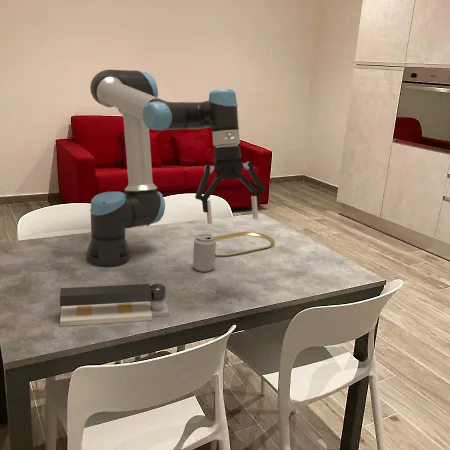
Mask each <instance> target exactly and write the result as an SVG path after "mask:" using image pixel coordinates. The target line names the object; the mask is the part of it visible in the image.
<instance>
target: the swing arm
mask: <svg viewBox="0 0 450 450" xmlns="http://www.w3.org/2000/svg"><path fill="white" fill-rule="evenodd" d="M59 290H60V292H59V307H62V306H78V305H96V304H113V303H131V302H149V303H150V302H151V299H152V300H163V299H165V298H166V286H165V285H164V284H161V283H154V284H150V283H142V284H119V285H116V284H115V285H99V286H98V285H97V286H94V285H93V286H78V287H77V286H75V287H74V286H73V287H60V289H59Z"/></svg>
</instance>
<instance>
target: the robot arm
mask: <svg viewBox="0 0 450 450" xmlns="http://www.w3.org/2000/svg"><path fill="white" fill-rule="evenodd" d="M89 89H90V94H91V96H92V98H93V99H94V100H95V102H96V103H98V104H100V105H102V106H103V107H106V108H115V109H117V111H118V112H119V113H120V114H121V116H122V117H123V129H124V141H125V142H124V143H125V152H126V153H125V155H126V167H127V179H128V183H127V184H128V185H127V186H126V187H125V188H124V192H122V191H115V190H114V191H106V192H101V193H98V194H96V195H94V196H93V198H91V200H90V210H89V212H90V232H91V233H90V240H89V243H88V247H87V250H86V256H85V257H86V261H87V262H88V263H89V264H91V265H94V266H97V267H98V266H99V267H116V266H120V265H121V266H122V265H124V264H126V263H128V262H129V261H130V260H131V251H130V248H129V245H128V242H127V239H126V229H130V228H135V227H141V226H150V225H152V224H156V223H158V222H159V221H160V222H161V219H162V218H163V217H164V215H165V211H166V202H165V198H164V195H163V194H162V193H161V192H160V191H158V186H156V184H155V183H154V182H153V167H152V166H153V165H152V154H151V153H152V152H151V151H152V150H151V139H150V137H151V136H150V130H152V131H168V130H194V131H195V130H199V131H200V130H202V129H206V128H211V133H212V146H213V147H215V148H214V149H213V155H214V156H213V157H214V165H207V164H206V165H204V167H203V175H202V178H201V180H200V184H199V185H198V188H197V191H196V194H195V195H194V198H195V199H196V200H199V201H201V203H202V212H203V213H206V218H207V224H209V225H213V217H212V215H213V214H212V205H211V201H210V200H209V198H210V197H211V195H212V194H213V193H214V191H215V190H216V188H217V186H218V185H219V184H220V182H221V181H222V180H223V181H228V180H236V179H238V180H239V181H240V182H241V183H242V184H243V185H244V186H245V187H246V188H247V189H248V190H249V191H250V192H251V193H252V194H253V195H251V197H250V199H251V211H252V219H255V220H257V219H259V212H258V207H261V198H260V196H261V195H262V194H263V193H266V188H265V186H264V185H263V183H262V181H261V179H260V178H259V176H258V174H257V172H256V171H255V168H254V163H253V161H246V162H243V161H242V154H241V153H242V151H241V147H240V146H239V144H240V143H241V140H240V130H239V129H240V127H239V113H238V112H239V111H238V103H237V95H236V94H237V93H236V92H235V90H234V89H231V88H230V89H229V88H221V89H215V90H212V91H210V92H209V94H208V100H206V101H198V102H197V101H187V102H186V101H184V102H183V101H175V102H174V101H168V100H167V101H166V100H163V99H161V98H159V97H158V96H159V89H158V85H157V82H156V80H155V78H154V77H153V76H152V74H150V73H149V72H147V71H142V70H141V71H140V70H127V69H123V70H122V69H104V70H102V71H99V72H98V73H96V74H95V76H93V78H92V79H91V82H90V88H89ZM243 169H245V170H246V171H247V172H248V174H249V176H250V178H251V180H252V181H253V183H254V185H255V186H254V185H253V184H252V183H251V182H250V181H249V180H248V179H247V178H246V177H245V175H244V174H243V173H242V170H243ZM213 171H214V172H215V173H216V175H215V177H214V178H213V180H212V182H211V183H210V184H209V186H208V188H207V189H206V191H205V188H206V186H207V183H208V180H209V177H210V174H212V173H213ZM204 191H205V192H204Z"/></svg>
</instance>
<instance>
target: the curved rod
mask: <svg viewBox="0 0 450 450" xmlns="http://www.w3.org/2000/svg"><path fill="white" fill-rule="evenodd" d="M245 236H246V237H247V236H249V237H257V238H261V239H264V240H267V241H268V242H269V244H270V245H268V246H263V247H257V248H253V249H248V250H244V251H243V250H242V251H239V252H234V253H227V254H226V253H225V254H224V253H223V254H221V253H215V257H231V256H232V257H233V256H236V255H237V256H238V255H241V254H246V253H252V252H255V251H256V252H257V251H260V250H266V249H269V248H271V247H273V246H274V244H275V239H274V238H273V237H271V236H269V235H266V234H264V233H260V232H253V231H239V232H235V233H228V234H222V235H217V236H214V239H215V241H216V242H217V241H220V240H221V241H222V240H227V239H232V238H237V237H245Z"/></svg>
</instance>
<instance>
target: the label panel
mask: <svg viewBox="0 0 450 450" xmlns="http://www.w3.org/2000/svg"><path fill="white" fill-rule="evenodd" d="M164 299H165V298H164ZM164 299H163V300H152V299H151V301H149V302H131V303H113V304H96V305H78V306H61V309H60V318H59V319H60V320H59V327H70V326H84V325H99V324H101V325H102V324H114V323H116V324H117V323H130V322H144V321H146V322H147V321H153V317H165V316H170V311H169V307H168V304H167V302H165V301H164Z"/></svg>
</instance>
